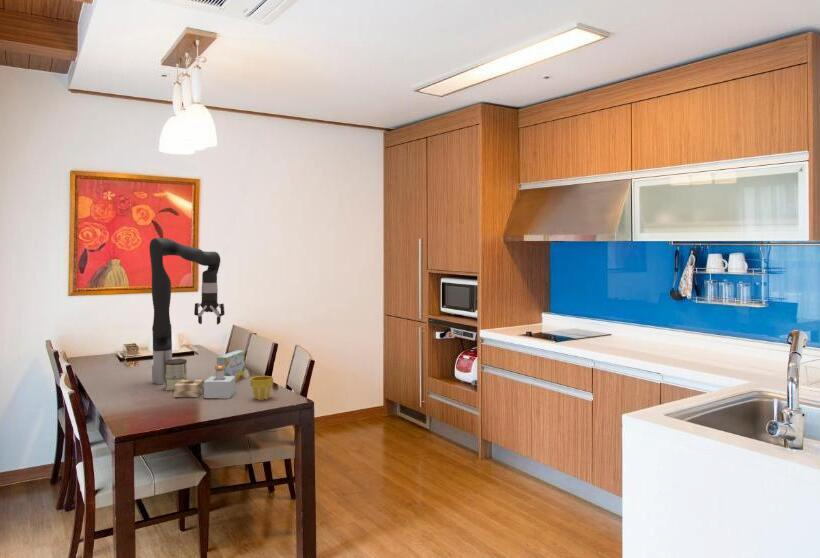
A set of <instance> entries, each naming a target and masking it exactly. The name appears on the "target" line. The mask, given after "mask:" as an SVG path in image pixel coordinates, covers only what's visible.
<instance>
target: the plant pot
mask: <svg viewBox="0 0 820 558" xmlns="http://www.w3.org/2000/svg"><path fill="white" fill-rule="evenodd" d="M249 381H250V382H249V383H250V387H251V388H252V392H253V396H254V399H255V400H256V399H258V400H257V401H265V400H264V399H266V400H269V399H270V397H271V396H270V395H271V390H272V386H274V377H272V376H271V375H270V376H269V375H257V376H253V377H250V380H249ZM268 398H269V399H268Z"/></svg>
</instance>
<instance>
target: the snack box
mask: <svg viewBox="0 0 820 558" xmlns="http://www.w3.org/2000/svg"><path fill="white" fill-rule="evenodd" d="M245 352H246V351H245V350H240V349H238V350H237V349H236V350H232V351H231V352H228V353H225V354H222V355H219V356H217V357H216V366H217V365H224V367H225V368H224V376H235V381H236V382H238V381H240V380H242V379H244V378H245V377H246V376H245V374H246V373H245V366H246V363H245V356H246V355H245V354H246V353H245ZM243 377H244V378H243ZM241 378H242V379H241ZM239 379H240V380H239ZM237 380H238V381H237Z"/></svg>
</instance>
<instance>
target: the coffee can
mask: <svg viewBox="0 0 820 558" xmlns="http://www.w3.org/2000/svg"><path fill="white" fill-rule="evenodd" d="M187 361H188V360H187V359H184V358H175V359H173V358H172V360H167V361H165V377H166V384H165V390H166V389H167V390H174V385H175V384H176V383H178V382H179V381H180V380H188V379H187V378H188V373H187V372H188V371H187V370H188V369H187V367H188V366H187V365H188V364H187ZM167 390H166V391H167Z"/></svg>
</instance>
